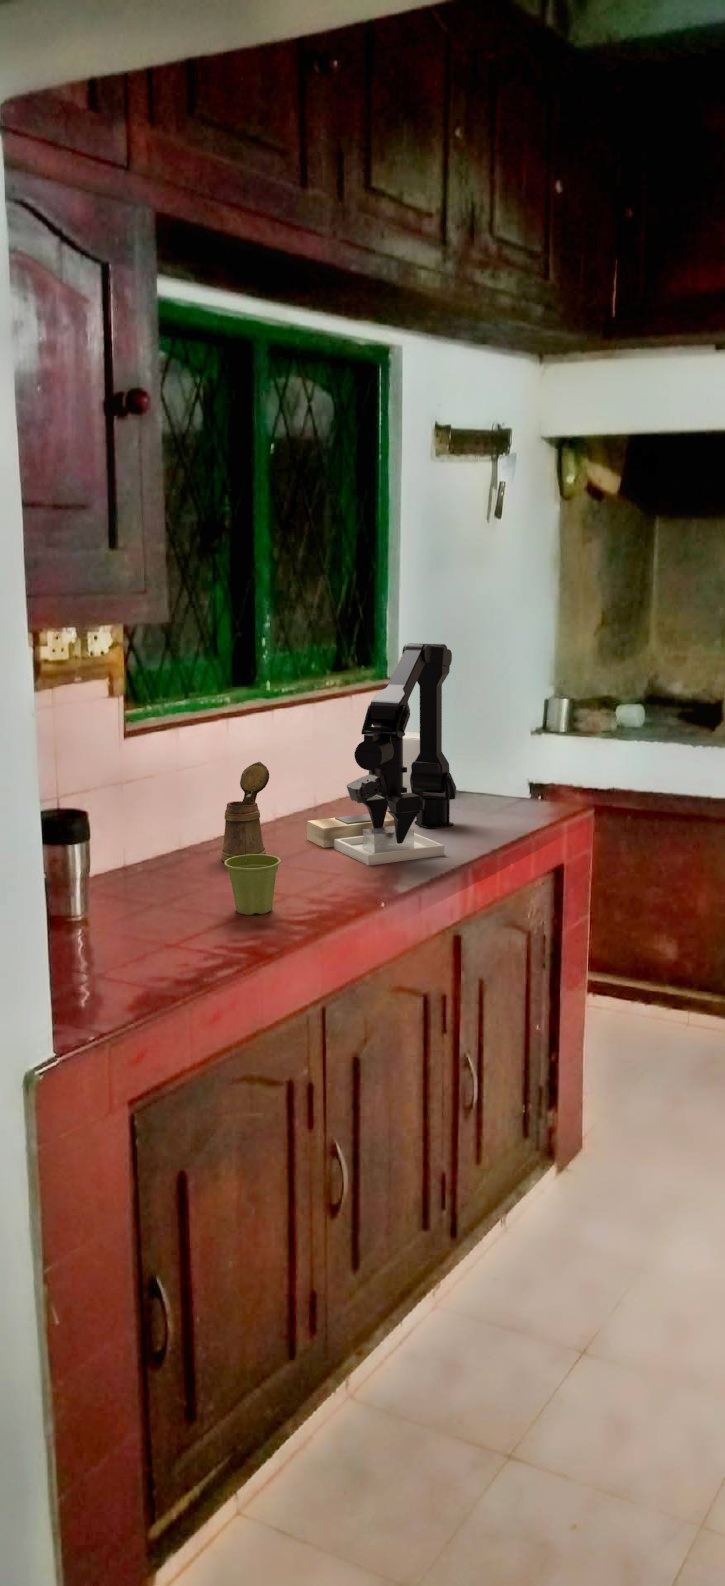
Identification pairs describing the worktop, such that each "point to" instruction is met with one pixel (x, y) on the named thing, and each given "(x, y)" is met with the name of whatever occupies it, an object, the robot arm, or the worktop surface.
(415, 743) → the supplement box
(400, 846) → the light grey block
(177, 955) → the worktop surface
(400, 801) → the robot arm
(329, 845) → the light wood plank
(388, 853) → the parts tray
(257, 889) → the plant pot
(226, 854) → the wooden mug
